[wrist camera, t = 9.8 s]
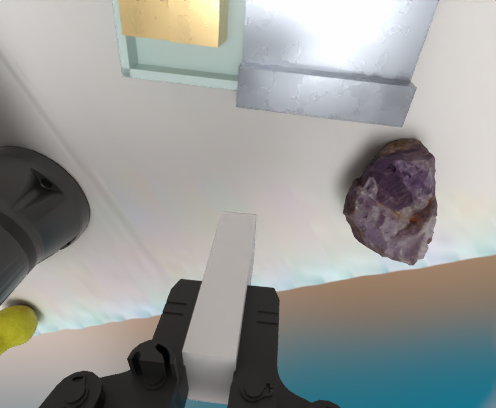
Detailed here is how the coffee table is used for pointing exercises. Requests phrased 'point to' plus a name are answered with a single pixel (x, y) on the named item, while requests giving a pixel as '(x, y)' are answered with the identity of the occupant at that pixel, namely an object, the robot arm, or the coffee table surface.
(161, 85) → the coffee table surface
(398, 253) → the rock
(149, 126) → the coffee table surface
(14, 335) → the fruit
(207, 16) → the brass block
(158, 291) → the coffee table surface
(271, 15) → the rail
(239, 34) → the tray
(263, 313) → the robot arm
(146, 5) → the brass block
